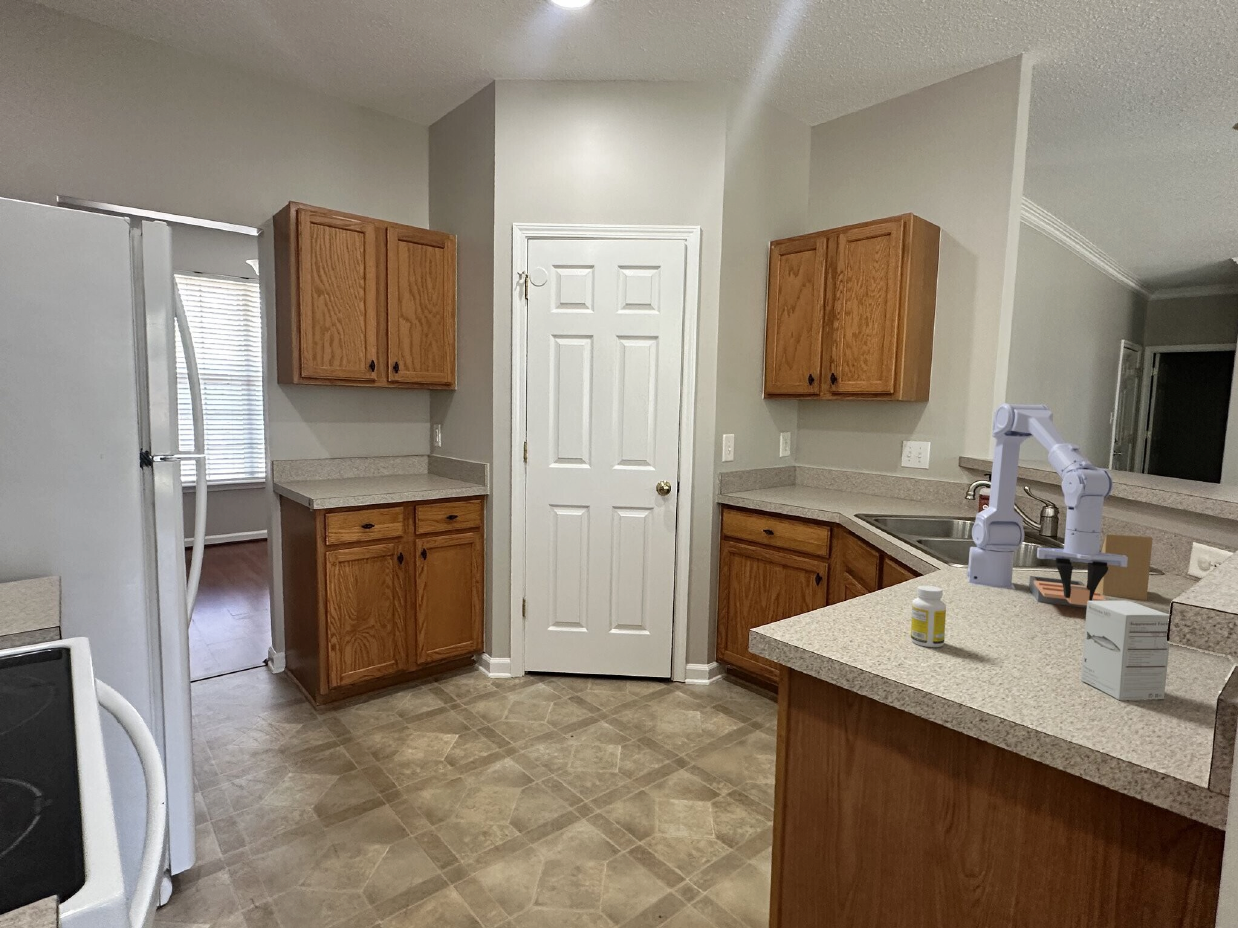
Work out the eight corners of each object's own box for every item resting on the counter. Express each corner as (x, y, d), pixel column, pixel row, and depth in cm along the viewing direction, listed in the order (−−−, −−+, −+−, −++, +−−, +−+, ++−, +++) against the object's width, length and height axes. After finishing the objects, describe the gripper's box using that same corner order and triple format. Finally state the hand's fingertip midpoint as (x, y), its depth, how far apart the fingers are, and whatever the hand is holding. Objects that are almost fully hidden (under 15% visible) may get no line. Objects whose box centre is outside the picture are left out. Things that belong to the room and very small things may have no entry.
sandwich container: (1129, 588, 161) (1135, 527, 160) (1148, 603, 147) (1153, 536, 146) (1087, 583, 165) (1092, 523, 164) (1101, 598, 151) (1106, 533, 150)
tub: (1037, 604, 144) (1038, 588, 143) (1028, 590, 156) (1029, 575, 155) (1093, 611, 140) (1094, 594, 139) (1079, 596, 151) (1081, 581, 151)
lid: (1047, 600, 132) (1048, 585, 132) (1033, 583, 148) (1034, 570, 148) (1112, 608, 127) (1113, 593, 127) (1091, 589, 143) (1092, 576, 143)
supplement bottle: (941, 640, 119) (945, 586, 118) (946, 650, 113) (949, 593, 113) (908, 636, 120) (912, 582, 120) (911, 645, 115) (914, 590, 115)
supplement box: (1078, 680, 101) (1084, 599, 100) (1123, 680, 102) (1130, 599, 101) (1118, 701, 94) (1125, 614, 93) (1166, 700, 95) (1174, 614, 94)
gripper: (1043, 529, 130) (1038, 597, 131) (1134, 536, 124) (1128, 608, 125) (1037, 524, 136) (1032, 589, 137) (1123, 531, 130) (1118, 599, 131)
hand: (1077, 598), depth 131 cm, fingers closed on lid, 3 cm apart
